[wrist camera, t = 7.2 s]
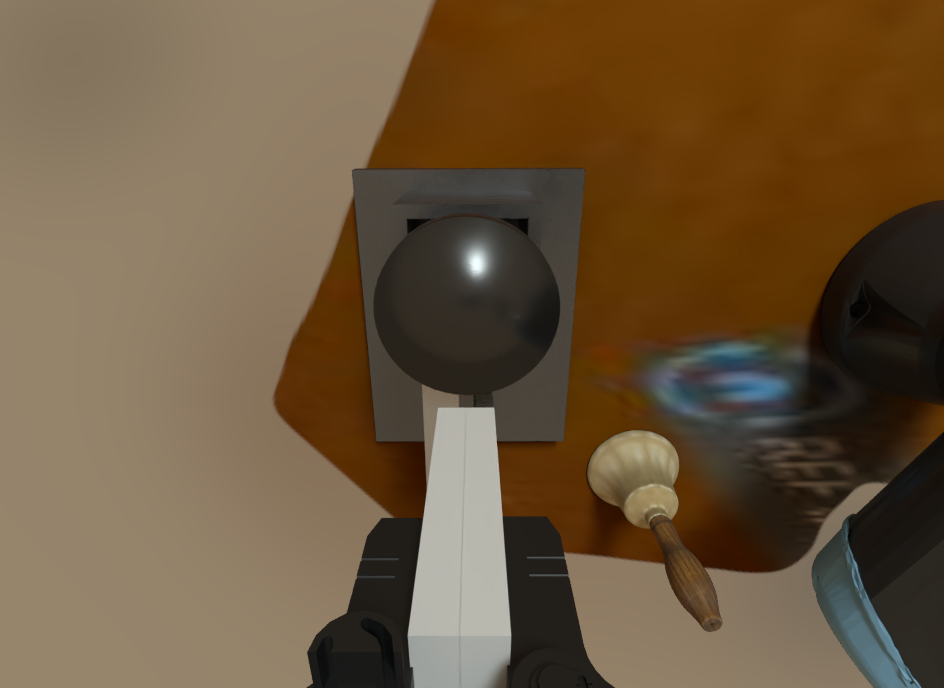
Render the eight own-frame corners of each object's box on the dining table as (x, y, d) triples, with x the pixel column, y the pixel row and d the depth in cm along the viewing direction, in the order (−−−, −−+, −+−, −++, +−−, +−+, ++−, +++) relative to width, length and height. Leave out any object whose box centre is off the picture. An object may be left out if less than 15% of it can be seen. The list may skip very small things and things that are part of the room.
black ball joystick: (541, 195, 31) (566, 217, 22) (529, 431, 37) (546, 517, 29) (394, 195, 31) (365, 217, 22) (409, 431, 37) (390, 517, 29)
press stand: (580, 167, 35) (639, 185, 23) (560, 431, 44) (595, 548, 31) (356, 168, 35) (293, 186, 23) (379, 431, 44) (342, 548, 32)
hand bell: (616, 416, 43) (689, 560, 29) (696, 449, 45) (805, 603, 30) (570, 486, 46) (616, 650, 32) (647, 515, 48) (725, 685, 33)
